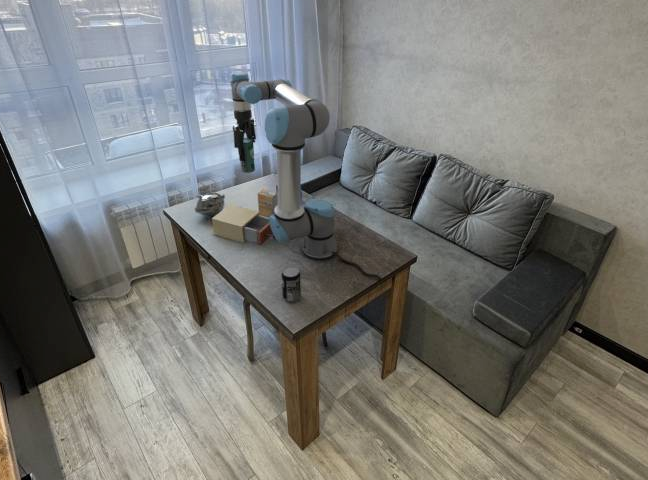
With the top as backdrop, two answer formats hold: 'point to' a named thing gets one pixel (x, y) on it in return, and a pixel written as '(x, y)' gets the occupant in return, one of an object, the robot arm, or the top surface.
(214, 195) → the piggy bank
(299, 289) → the beverage can
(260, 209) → the supplement box
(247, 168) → the can
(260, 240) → the drawer
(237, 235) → the beige cardboard box
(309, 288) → the top surface
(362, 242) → the top surface
